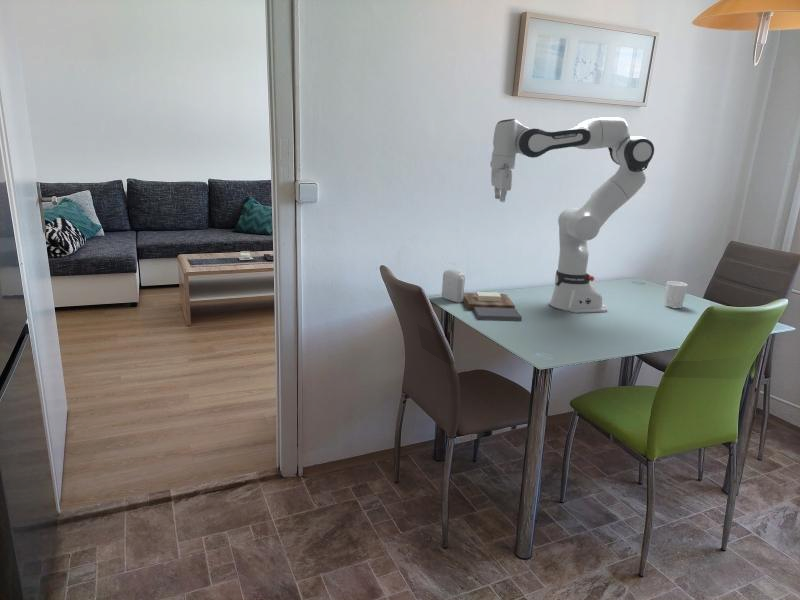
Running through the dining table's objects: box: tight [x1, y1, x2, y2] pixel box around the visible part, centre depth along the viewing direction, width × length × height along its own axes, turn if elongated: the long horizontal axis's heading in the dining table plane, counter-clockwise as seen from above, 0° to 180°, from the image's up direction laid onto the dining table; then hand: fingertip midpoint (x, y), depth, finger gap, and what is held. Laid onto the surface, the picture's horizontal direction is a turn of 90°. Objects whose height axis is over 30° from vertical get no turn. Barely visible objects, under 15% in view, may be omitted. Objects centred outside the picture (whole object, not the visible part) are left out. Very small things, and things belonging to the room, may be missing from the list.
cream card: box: [475, 291, 501, 301], centre depth 231 cm, size 9×6×2 cm, turn 92°
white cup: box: [664, 280, 689, 308], centre depth 240 cm, size 8×8×10 cm
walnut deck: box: [463, 292, 516, 311], centre depth 232 cm, size 18×16×2 cm
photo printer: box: [441, 269, 466, 304], centre depth 236 cm, size 10×4×12 cm, turn 37°
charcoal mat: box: [473, 307, 523, 322], centre depth 219 cm, size 16×11×2 cm
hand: (499, 200), depth 224 cm, fingers open, 8 cm apart
